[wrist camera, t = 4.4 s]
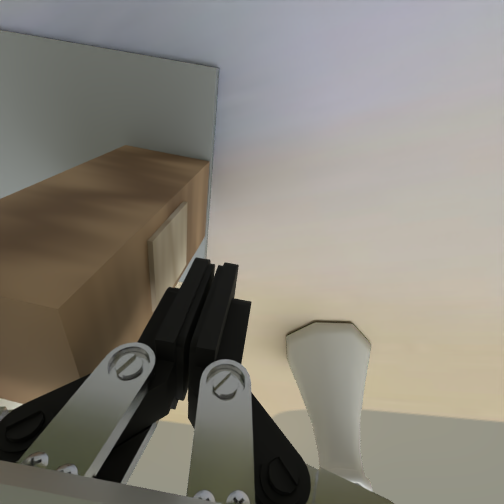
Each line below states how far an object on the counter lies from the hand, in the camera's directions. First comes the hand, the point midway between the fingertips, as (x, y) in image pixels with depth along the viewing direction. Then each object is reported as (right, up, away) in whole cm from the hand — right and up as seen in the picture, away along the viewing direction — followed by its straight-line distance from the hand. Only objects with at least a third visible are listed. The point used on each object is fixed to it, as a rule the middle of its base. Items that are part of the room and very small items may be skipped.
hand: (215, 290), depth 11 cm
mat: (-10, +7, +7) cm, 14 cm away
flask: (+8, -7, +14) cm, 17 cm away
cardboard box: (-4, +5, +6) cm, 9 cm away
